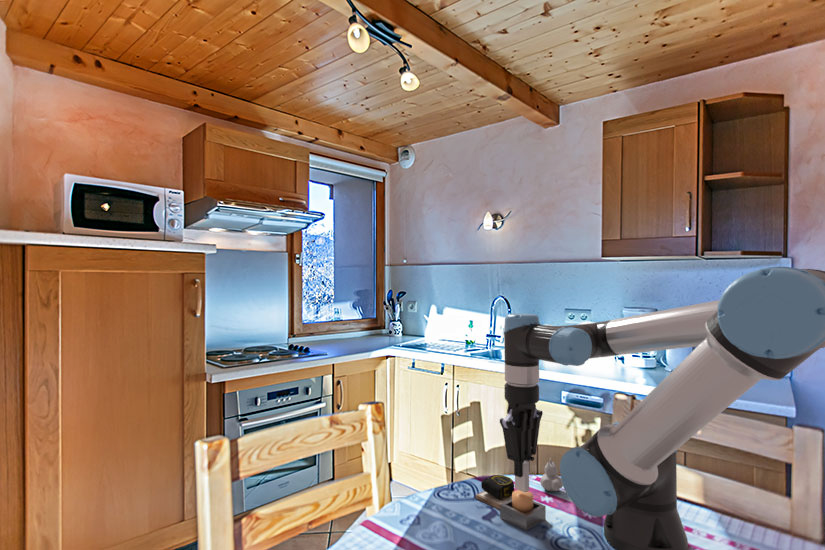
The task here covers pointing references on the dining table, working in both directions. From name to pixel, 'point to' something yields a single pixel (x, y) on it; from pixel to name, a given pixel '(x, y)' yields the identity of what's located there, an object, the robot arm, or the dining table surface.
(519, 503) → the button
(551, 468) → the bunny figurine
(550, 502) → the dining table surface
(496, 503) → the wooden square coaster
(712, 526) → the dining table surface
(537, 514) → the button box
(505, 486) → the tape measure
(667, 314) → the robot arm
